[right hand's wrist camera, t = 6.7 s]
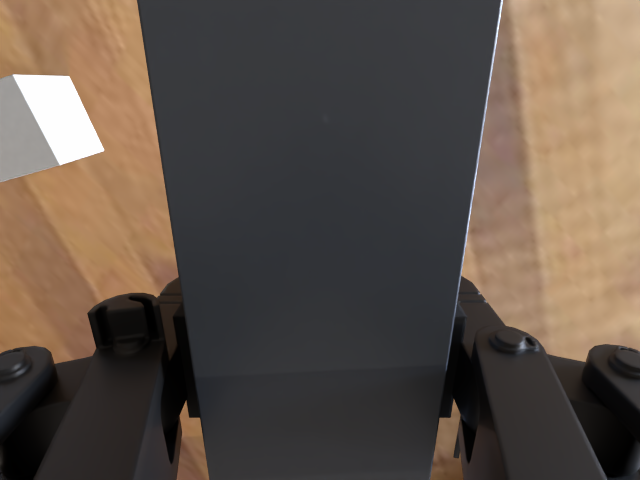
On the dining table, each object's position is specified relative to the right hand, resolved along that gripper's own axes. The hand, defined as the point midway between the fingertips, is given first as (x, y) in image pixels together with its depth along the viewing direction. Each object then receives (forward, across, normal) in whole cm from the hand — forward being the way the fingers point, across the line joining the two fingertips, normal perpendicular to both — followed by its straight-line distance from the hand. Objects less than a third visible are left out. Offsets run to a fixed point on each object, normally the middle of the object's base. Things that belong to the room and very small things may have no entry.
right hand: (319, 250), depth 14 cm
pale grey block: (+14, +18, -3) cm, 23 cm away
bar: (0, 0, -9) cm, 9 cm away
